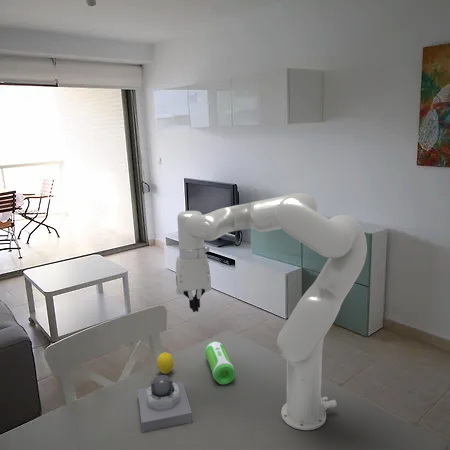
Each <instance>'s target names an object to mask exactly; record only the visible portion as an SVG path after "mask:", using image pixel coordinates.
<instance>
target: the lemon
mask: <svg viewBox="0 0 450 450" xmlns="http://www.w3.org/2000/svg"><path fill="white" fill-rule="evenodd" d="M174 362H175V361H174V358H173V356H172V354H171V353H168V352H165V351H164V352H162V353H160V354H159V356H158V357H157V360H156V366H157V369H158V371H159V372H160V373H162V374H164V375H167V374H169V373H170V372H171V371H172V370H173V369H174V364H175V363H174Z"/></svg>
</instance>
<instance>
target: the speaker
mask: <svg viewBox="0 0 450 450" xmlns="http://www.w3.org/2000/svg"><path fill="white" fill-rule="evenodd" d="M204 353H205V354H204V355H205V358H206V359H207V361H208V362H207V363H208V365H209V367H210V370H211V373H212V377H213V380H215V381H216V382H217V383H218V384H219V385H228V384H229V383H231V382H232V381H233V380H234V378H235V367H234V365H233V363H232V362H231V360H230V358H229V356H228V353H227V350H226V349H225V346H224V345H223V344H222V343H221V342H219V341H214V340H213V341H211V342H209V343H208V344H207V345H206V347H205V351H204Z"/></svg>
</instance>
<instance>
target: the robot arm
mask: <svg viewBox="0 0 450 450" xmlns="http://www.w3.org/2000/svg"><path fill="white" fill-rule="evenodd" d="M176 219H177V233H178V237H177V238H178V253H179V256H177V257H176V261H175V285H176V295H180V296H183V295H184V296H185V297H186V298H187V299H189V303H188V304H189V309H190V310H191V311H192V313H195V312H199V308H200V307H201V298H202V296H203V295H204V294H205V293H206V292H209V291H212V286H211V285H212V279H211V272H210V270H211V269H210V263H209V259H208V256H207V254H206V253H207V252H210V247H209V246H205V241H208V242H210V241H211V242H212V241H215V240H217V239H219V238H220V237H222V236H225V235H227V234H229V233H231V232H236V231H241V230H249V229H250V230H251V229H252V230H256V231H257V232H258V233H266V232H271V231H272V232H273V231H275V230H276V231H277V230H282V231H283V232H285V233H286V234H288V235H289V236H291V237H292V238H293V239H295V240H297V241H299V243H301V244H303V245H304V246H306V247H308V248H309V249H310V250H312V251H314V252H315V253H318V254H319V255H320V256H322V257H325V258H328V259H327V261H326V262H325V264H324V265H323V267H322V269H321V270H320V273H319V274H318V276H317V277H316V279H315V280H314V282H313V283H312V284H311V286H309V288H308V289H307V290H306V291H305V293H304V294H303V295H302V297H301V298H300V299H299V301H298V302H297V304H296V306H295V307H294V308H293V310H292V311H291V314H290V316H289V317H288V319H287V320H286V322H285V323H284V325H283V327H282V328H281V330H280V331H279V333H278V335H277V339H276V344H277V350H278V352H279V354H280V355H281V357H282V358H283V359H284V360H285V361H286V402H285V403H284V404H283V405H282V407H281V411H280V413H281V414H280V415H281V418H282V420H283V422H285V423H286V424H287V425H288V426H290V427H292V428H294V429H296V430H302V431H311V430H316V429H319V428H321V427H322V426H323V425H324V424H325V423H326V420H327V413H326V411H327V409H332V408H336V407H337V405H338V404H337V401H336V399H331V400H329V398H328V396H323V397H322V365H323V364H322V362H323V361H322V360H323V348H324V347H323V346H324V338H325V337H326V335H327V333H328V332H329V331H330V329H331V327H332V325H333V323H334V322H335V320H336V318H337V316H338V314H339V312H340V309H341V308H342V307H341V306H342V304H343V302H344V300H345V298H346V297H347V295H348V293H349V292H350V291H351V289H352V287H353V286H354V284H355V282H356V281H357V279H358V277H359V276H360V274H361V272H362V271H363V268H364V266H365V263H366V259H367V254H368V243H367V236H366V234H365V232H364V230H363V228H362V226H361V224H360V223H359V222H358V221H357V220H356V219H355V218H354V217H352V216H351V215H347V214H338V215H337V214H336V215H335V216H332V217H331V218H330V219H329V218H327V217H326V216H324V215H322V214H321V213H319V212H318V205H317V202H316V199H315V198H314V197H313V196H312V195H310V194H309V193H305V192H296V193H290V194H285V195H282V196H281V195H280V196H276V197H271V198H266V199H260V200H257V201H251V202H247V203H241V204H236V205H232V206H226V207H222V208H219V209H218V208H217V209H216V210H213V211H211V212H208V213H205V214H203V213H202V212H201V211H199V210H184V211H181V212H179V213H178V214H177V218H176ZM193 291H195V292H194V293H195V294H193Z"/></svg>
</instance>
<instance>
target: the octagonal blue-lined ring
mask: <svg viewBox="0 0 450 450" xmlns="http://www.w3.org/2000/svg"><path fill="white" fill-rule="evenodd" d="M176 383H177V382H173V390H171V391H170V395H169V396H165V397H160V398H159V397H157V396H155V393H152V392H151V385H150V386H149V387H147V388H148V389H147V398H148V405H149V408H152V409H154V410H157V411H163V410H168V409H172V408H173V407H174V406H175V405H177V404H178V403H179V402H180V397H179V389H178V385H177V384H176Z"/></svg>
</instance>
